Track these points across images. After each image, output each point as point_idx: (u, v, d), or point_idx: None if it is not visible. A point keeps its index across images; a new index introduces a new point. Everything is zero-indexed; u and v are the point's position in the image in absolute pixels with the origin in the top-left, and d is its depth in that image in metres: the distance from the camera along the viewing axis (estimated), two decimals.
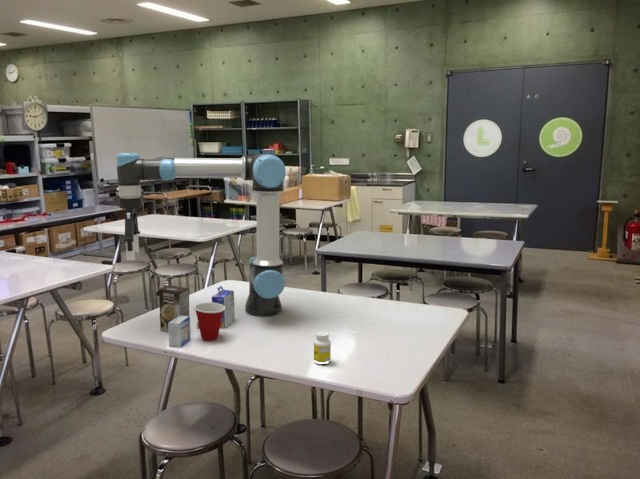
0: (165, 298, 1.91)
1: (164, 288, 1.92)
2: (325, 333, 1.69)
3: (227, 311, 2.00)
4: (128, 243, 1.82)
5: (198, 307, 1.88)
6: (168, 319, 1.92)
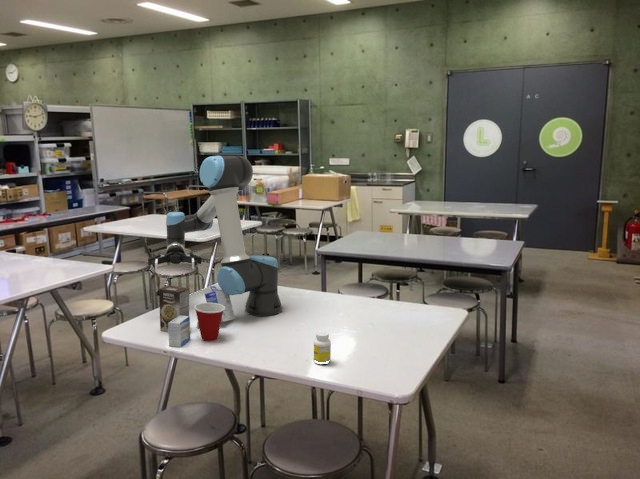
0: (165, 298, 1.91)
1: (164, 288, 1.92)
2: (325, 333, 1.69)
3: None
4: None
5: (198, 307, 1.88)
6: (169, 319, 1.92)
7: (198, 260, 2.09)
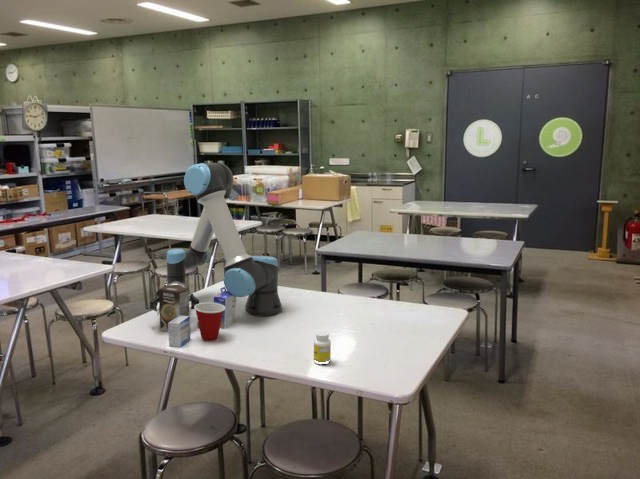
0: (165, 298, 1.91)
1: (164, 288, 1.92)
2: (325, 333, 1.69)
3: (227, 312, 1.99)
4: None
5: (198, 307, 1.88)
6: (168, 319, 1.92)
7: (196, 303, 1.98)
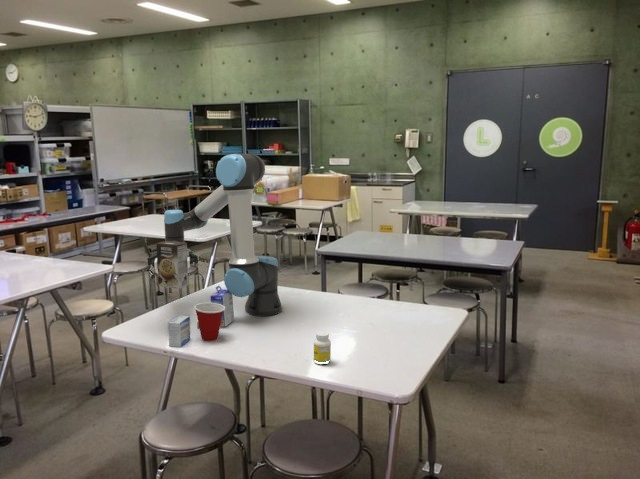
0: (162, 253, 1.88)
1: (161, 242, 1.89)
2: (325, 333, 1.69)
3: (226, 309, 2.00)
4: (152, 263, 1.91)
5: (198, 307, 1.88)
6: (167, 274, 1.89)
7: (194, 259, 1.95)
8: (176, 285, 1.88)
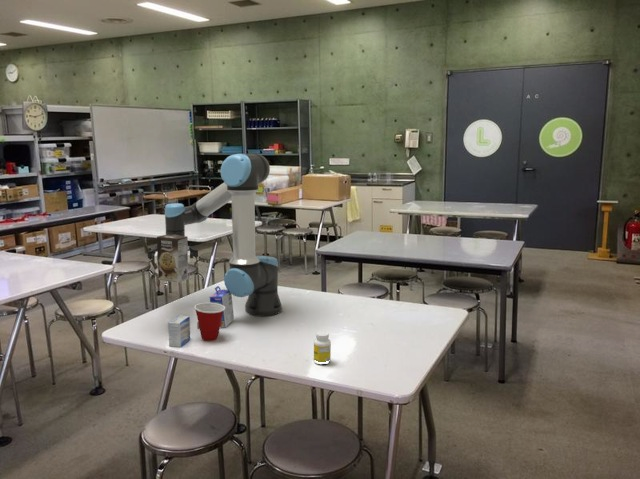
0: (163, 246, 1.87)
1: (162, 236, 1.89)
2: (325, 333, 1.69)
3: (226, 310, 2.00)
4: None
5: (198, 307, 1.88)
6: (167, 268, 1.88)
7: (194, 253, 1.95)
8: (176, 279, 1.88)
